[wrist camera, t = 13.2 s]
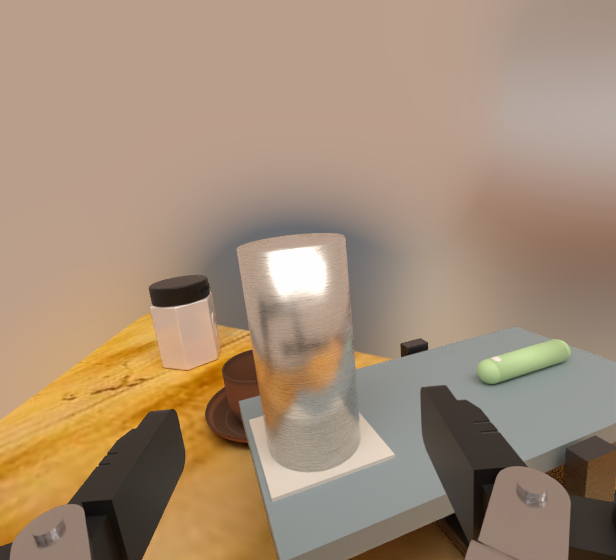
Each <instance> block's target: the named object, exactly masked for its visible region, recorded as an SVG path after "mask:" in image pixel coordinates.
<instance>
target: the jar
mask: <svg viewBox="0 0 616 560" xmlns="http://www.w3.org/2000/svg"><path fill="white" fill-rule="evenodd" d="M209 288H210V287H209V283H208V279H207V277H206V276H203V275H190V276H181V277H175V278H170V279H166V280H162V281H159V282H156V283H154V284H152V285H150V286H149V291H150V297H151V301H152V304H153V305H152V306H151V307H150V309H151V314H152V319H153V323H154V328H155V332H156V337H157V342H158V346H159V351H160V355H161V360H162V364H163V367H164V368H171V369H179V370H191V369H193V368H196V367H199V366H201V365H204V364H206V363H209V362H212V361H214V360H217V359H218V355H219V351H220V347H221V346H220V340H219V334H218V329H217V323H216V317H215V311H214V306H213V300H212V294H211V292H210V290H209Z"/></svg>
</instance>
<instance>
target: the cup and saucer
mask: <svg viewBox="0 0 616 560" xmlns="http://www.w3.org/2000/svg"><path fill="white" fill-rule="evenodd" d="M222 373H223V379H224V384H225V387H224V388H223V389H221V390H220V391H219V392H218V393H216V394H215V395H214V396H213V398H212V399H211V400H210V402H209V403H208V405H207V408H206V412H205V416H206V420H207V423H208V425H209V427H210V428H211V429H212V431H213V432H215V433H216V434H217V435H219V436H221V437H223V438H225V439H228V440H231V441H235V442H241V443H248V441H247V437H246V433H245V429H244V425H243V421H242V417H241V412H240V406H239V401H241V400H245V399H249V398H252V397H256V396H260V393H259V387H258V381H257V374H256V368H255V362H254V355H253V350H249V351H246V352H243V353H240V354H238V355H236V356H234V357H232V358H231V359H229V360H228V361H227V362H226V363H225V364H224V366H223V368H222Z"/></svg>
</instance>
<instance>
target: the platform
mask: <svg viewBox="0 0 616 560" xmlns="http://www.w3.org/2000/svg"><path fill="white" fill-rule="evenodd" d="M356 382H357V395H358V407H359V420H360V433H361V440H360V444H359V446H358V449H357V450H356V452H355V453H354V454H353V455H352V456H351V458H349V459H348V460H347V461H346V462H344V463H342V464H341V465H339V466H337V467H335V468H332V469H329V470H325V471H321V472H309V473H307V472H298V471H293V470H290V469H287V468H285V467H283V466H282V465H280V464H278V463H277V462H276V461H275V460H274V459H273V458H272V456H271V454H270V452H269V449H268V444H267V437H266V431H265V425H264V419H263V412H262V406H261V400H260V396H256V397H252V398H249V399H245V400H241V401H239V406H240V412H241V417H242V421H243V425H244V429H245V433H246V437H247V441H248V445H249V449H250V452H251V456H252V460H253V464H254V468H255V472H256V476H257V480H258V484H259V488H260V492H261V496H262V499H263V503H264V507H265V511H266V515H267V519H268V523H269V527H270V531H271V535H272V539H273V543H274V546H275V550H276V554H277V558H278V560H348V559H350V558H352V557H355V556H357V555H359V554H361V553H364V552H366V551H368V550H371V549H373V548H375V547H377V546H380V545H382V544H384V543H387V542H389V541H391V540H393V539H396V538H398V537H400V536H402V535H405V534H407V533H409V532H412V531H414V530H416V529H418V528H421V527H423V526H425V525H427V524H430V523H432V522H434V521H437V520H439V519H441V518H443V517H446V516H448V515H450V514H452V513H455V512H454V509H453V507H452V505H451V503H450V501H449V499H448V496H447V494H446V492H445V490H444V488H443V486H442V483H441V481H440V479H439V477H438V475H437V473H436V471H435V468H434V466H433V464H432V462H431V460H430V458H429V455H428V453H427V451H426V448H425V445H424V442H423V437H422V429H421V400H420V390H421V387H427V386H438V385H446V386H447V387H448V388H449V390H450V391H451V393H452V394H453V395H454V397H455V398H456V399H457V400H468V401H469V402H471V403H472V404H474V405H476V406H477V407H479V408H480V409H481V410H482V411H483V412H484V414H485V415H486V416H487V417H488V418H489V420H490V422H491V423H493V425H494V426H495V427H496V428H497V430H498V432H500V433H501V434H502V436H503V437H504V438H505V439H506V441H507V442H508V443H509V444H510V446H511V447H512V448H513V449H514V450H515V452H516V453H517V454H518V455H519V457H520V458H521V459H522V460H523V462H524V463H525V464H526V465H527V466H528V467H529V468H532V469H536V470H538V471H541V472H543V473H546V472H548V471H550V470H553V469H555V468H557V467H559V466H562V465H564V464H565V454H566V448H567V447H569V446H571V445H574V444H576V443H579V442H581V441H583V440H586V439H588V438H590V437H593V436H595V435H596V436H598V437H599V438H601V439H603V440H605V441H607V442H608V443H610V444H612V445H614V446H616V362H614V361H611V360H608V359H606V358H603V357H600V356H597V355H594V354H591V353H589V352H586V351H583V350H580V349H578V348H575V347H572V346H569V345H567V344H566V343H565V342H564V341H561V340H556V339H555V340H552V339H550V338H547V337H544V336H541V335H538V334H536V333H533V332H530V331H527V330H524V329H521V328H519V327H512V328H508V329H505V330H501V331H497V332H494V333H490V334H486V335H482V336H479V337H475V338H471V339H467V340H464V341H460V342H456V343H452V344H449V345H445V346H441V347H438V348H434V349H430V350H426V351H423V352H419V353H415V354H412V355H408V356H404V357H401V358H397V359H393V360H389V361H386V362H382V363H378V364H375V365H371V366H367V367H363V368H360V369H356ZM615 477H616V476H615Z"/></svg>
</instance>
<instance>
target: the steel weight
mask: <svg viewBox="0 0 616 560" xmlns="http://www.w3.org/2000/svg"><path fill="white" fill-rule="evenodd" d="M237 254H238V260H239V267H240V273H241V279H242V286H243V292H244V298H245V305H246V311H247V317H248V323H249V330H250V336H251V343H252V349H253V355H254V362H255V368H256V374H257V381H258V387H259V393H260V400H261V406H262V412H263V419H264V425H265V431H266V437H267V444H268V449H269V452H270V454H271V456H272V458H273V459H274V460H275V461H276V462H277V463H278V464H280V465H282V466H283V467H285V468H287V469H290V470H293V471H298V472H307V473H309V472H321V471H325V470H329V469H332V468H335V467H337V466H339V465H341V464H342V463H344V462H346V461H347V460H348V459H349V458H351V456H352V455H353V454H354V453H355V452H356V450H357V449H358V446H359V444H360V440H361V433H360V420H359V407H358V395H357V382H356V369H355V356H354V344H353V331H352V318H351V306H350V294H349V280H348V268H347V255H346V242H345V236H344V235H341V234H334V233H313V234H298V235H289V236H281V237H274V238H268V239H263V240H258V241H254V242H250V243H247V244H244V245H241V246H239V247H238V248H237Z"/></svg>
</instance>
